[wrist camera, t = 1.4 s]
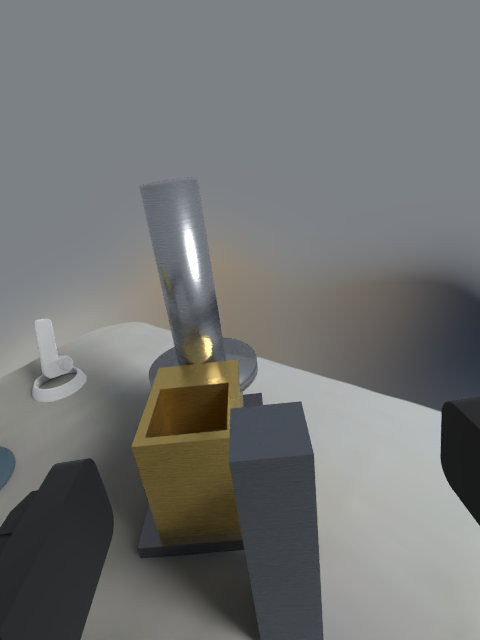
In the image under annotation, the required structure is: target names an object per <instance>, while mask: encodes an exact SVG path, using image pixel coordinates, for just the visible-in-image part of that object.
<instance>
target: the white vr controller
mask: <svg viewBox="0 0 480 640" xmlns="http://www.w3.org/2000/svg"><path fill="white" fill-rule="evenodd" d="M34 325H35V332H36V337H37V343H38V349H39V354H40V360H41V370H42V373H43V374H42V375H41V376H39V377H38V378H37V379H36V380H35V382H34V384H33V388H32V397H33V399H34V400H36V401H39V402H52V401H57V400H60V399H63V398H66V397H68V396H70V395H72V394H74V393H75V392H77V391H78V390H79V389H81V388H82V387H83V386H84V384H85V383H86V380H87V377H86V375H85V374H84V373H83V372H82V371H81V370H80V369H79V368H77V367H75V366H73V360H72V358H71V357H69V356H67V355H61V356H58V353H57V347H56V342H55V337H54V332H53V326H52V322H51V320H50V319H39V320H36V321H35V323H34ZM68 373H77V374H76V376H75V377H74V378H73V379H72V380H70V381H69V382H67V383H65V384H63V385H61V386H58V387H55V388H50V389H40V388H39V386H41V385H42V384H43V383H45V382H46V381H48V380H50V379H52V378H55V377H58V376H60V375H63V374H68Z"/></svg>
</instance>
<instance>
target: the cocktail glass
mask: <svg viewBox="0 0 480 640" xmlns="http://www.w3.org/2000/svg"><path fill="white" fill-rule="evenodd" d="M14 467H15V458H14V455H13V453H12V452H11V451H10V450H8V449H7V448H4V447H0V490H1V488H2V487H3V486H4V485H5V484H6V482H7V481H8V479H9V478H10V476H11V474H12V472H13V470H14Z"/></svg>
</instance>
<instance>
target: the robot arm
mask: <svg viewBox="0 0 480 640" xmlns="http://www.w3.org/2000/svg"><path fill="white" fill-rule="evenodd" d="M441 464H442V468H443V471H444V474H445V477H446V479H447V481H448V483H449V485H450V486H451V488H452V489H453V490H454V492H455V493H456V494H457V496H458V497H459V498H460V500H461V501H462V502H463V504H464V505H465V507H466V508H467V509H468V511H469V512H470V513H471V515H472V516H473V517H474V519H475V520H476V521H477V523H478V524H479V525H480V397H474V398H468V399H461V400H455V401H450V402H446V403H445V404H444V405H443V408H442V422H441ZM112 534H113V512H112V508H111V505H110V502H109V499H108V497H107V494H106V491H105V488H104V486H103V483H102V480H101V477H100V475H99V472H98V469H97V466H96V464H95V462H94V461H93V460H92V459H90V458H88V459H82V460H76V461H69V462H63V463H57V464H55V465H54V466H53V467H52V468H51V470H50V471H49V473H48V475H47V476H46V478H45V480H44V481H43V483H42V485H41V486H40V488H39V490H37V491H32V492H31V493H30V494H29V495H27V496H26V497H25V498H24V499H23V500H22V501H21V502H20V503H19V504H18V505H17V506H16V507H15V508H14V509H13V510H12V511H11V512H10V513H9V515H8V516H7V518H6V519H5V521H4V523H3V524H2V526H1V527H0V640H80V639H81V636H82V632H83V629H84V626H85V623H86V620H87V616H88V613H89V610H90V607H91V604H92V600H93V597H94V594H95V591H96V587H97V584H98V581H99V578H100V575H101V571H102V568H103V565H104V562H105V558H106V555H107V552H108V549H109V546H110V542H111V539H112Z"/></svg>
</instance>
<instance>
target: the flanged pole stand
mask: <svg viewBox="0 0 480 640" xmlns="http://www.w3.org/2000/svg"><path fill="white" fill-rule="evenodd" d="M139 187H140V191H141V196H142V201H143V205H144V210H145V214H146V219H147V223H148V227H149V232H150V237H151V242H152V246H153V251H154V255H155V259H156V264H157V269H158V273H159V278H160V282H161V287H162V291H163V296H164V300H165V305H166V309H167V314H168V318H169V323H170V328H171V332H172V337H173V341H174V346H175V347H173V348H171V349H170V350H168V351H166V352H165V353H163V354H162V355H161V356H159V357H158V358H157V359H156V360H155V361H154V363H153V364H152V366H151V368H150V370H149V380H150V383H151V387H152V389H151V392H150V395H149V398H148V401H147V404H146V406H145V409H144V412H143V415H142V418H141V421H140V423H139V426H138V429H137V432H136V435H135V438H134V441H133V443H132V446H131V448H132V451H133V454H134V458H135V461H136V464H137V467H138V470H139V473H140V477H141V480H142V483H143V486H144V489H145V492H146V496H147V499H148V502H149V504H148V508H147V512H146V516H145V520H144V524H143V528H142V532H141V537H140V541H139V545H138V551H139V554H140V557H141V558H147V557H160V556H172V555H184V554H196V553H208V552H220V551H233V550H244V544H243V539H242V533H241V528H240V522H239V516H238V511H237V505H236V500H235V494H234V488H233V483H232V477H231V471H230V466H229V441H230V409H231V408H241V407H251V406H261V405H263V401H262V393H256V394H247V395H243V391H244V390H245V389H246V388H247V387H248V386H249V385H250V384H251V383H252V382H253V381H254V379H255V377H256V375H257V371H258V366H257V358H256V354H255V352H254V350H253V349H252V348H251V347H250V346H249V345H248V344H246V343H244V342H242V341H239V340H236V339H231V338H223V337H222V331H221V324H220V318H219V312H218V306H217V300H216V293H215V287H214V280H213V274H212V267H211V262H210V255H209V249H208V242H207V236H206V229H205V223H204V217H203V211H202V205H201V198H200V192H199V185H198V179H197V178H195V177H190V178H179V179H171V180H164V181H158V182H152V183H147V184H143V185H140V186H139Z"/></svg>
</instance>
